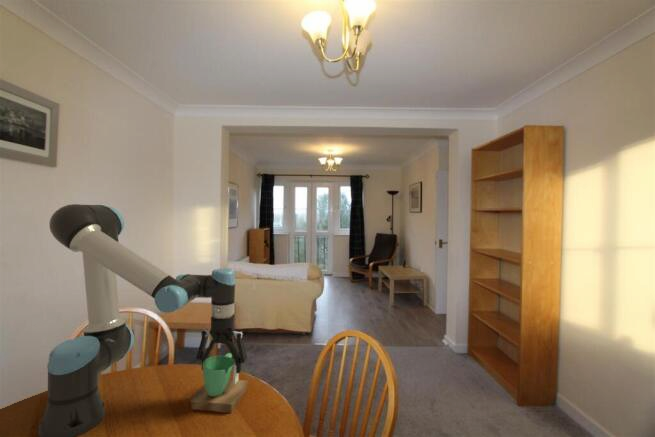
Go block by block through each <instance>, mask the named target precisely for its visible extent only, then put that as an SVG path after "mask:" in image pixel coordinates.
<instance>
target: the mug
mask: <svg viewBox="0 0 655 437" xmlns="http://www.w3.org/2000/svg"><path fill="white" fill-rule="evenodd" d="M234 364H235V360H234V358H233V356H232V354H231V352H228V353H226V354H225V355H214V356H209V357H208V358H207V359H206V360H205V361H204V362H203V370H202V373H203V382H204V385H205V387H206V390H207V393H208V395H209V396H213V397H215V396H219V395H221V394H222V393H223V391H224V389H225V387H226V385H227V383H228V380H229V379H231V378H230V377H231V375H232V374H233V373H232V372H233V367H234Z"/></svg>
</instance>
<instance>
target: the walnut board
mask: <svg viewBox="0 0 655 437" xmlns="http://www.w3.org/2000/svg"><path fill="white" fill-rule="evenodd" d="M248 383H249V381H248V380H241V379H238V381H237V383H236V384H233V379H232V378H229V380H228V383H227V385H226V387H225V389H224V391H223V393H222V394H221V395H219V396H215V397H213V396H209V395H208V393H207V390H206V387H205V384H204V385H203V386H202V387H201V388H200V389H199V390H198V391H197V392H196V393H195V394H194V395H193V397H192V398H191V399H189V400H190V401H189V402H190V405H191V410H199V411H207V412H217V413H218V412H219V413H227V414H232V413H233V411H234V410H235V408H236V407H237V405H238V404H239V402H240V401H241V399H242V398H243V396H244V394H245V393H246V392H247V389H248Z"/></svg>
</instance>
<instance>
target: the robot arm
mask: <svg viewBox="0 0 655 437" xmlns="http://www.w3.org/2000/svg"><path fill="white" fill-rule="evenodd" d="M48 223H49V226H48V227H49V230H50V232H51V234H52V236H53V238H54V239H55V240H57V242H59V244H61V245H62V246H63V247H65V248H67V249H69V250H70V251H72V252H74V253H82V263H83V264H82V265H83V276H84V286H85V287H84V288H85V297H86V308H87V309H86V310H87V318H88V319H87V321H88V323H87V325H86V326H85V327H84V328H83V331H82V332H83V336H82V335H81V336H78V337H74V338H73V339H68V340H65V341H63V342H60V344H58V345H56V346H55V347H54V348H53V349H52V350H51V351H50V353H49V355H48V362H47V364H46V365H47V403H46V404H47V405H46V407H45V409H44V412H43V414H42V418H41V419H40V421H39V424H38V437H77V436H79V435H81V434H84V433H85V432H88V431H90V430H91V429H93V428H94V427H95V426H97V425H98V424H100V423H101V421H102V420H103V419H104V417H105V415H106V405H105V403H104V401H103V398H102V394H101V393H100V390H99V384H100V383H99V381H100V377H99V376H100V374H101V373H103V372H105V370H107V369H109V368H110V367H111V366H112V365H114V364H115V363H118V362H119V361H120V360H122V359H124V357H126V355H127V354H128V353H129V352H130V350H131V349H132V348H133V345H134V343H135V342H134V341H135V336H134V331H133V330H132V329H131V328H130V327H129V325H127V323H126V319H124V318H122V317H121V315H120V308H119V306H120V305H119V295H118V293H119V292H118V283H117V276H119V277H120V278H121V279H123V280H124V281H126V282H128V283H130V284H131V285H132V286H135V287H136V288H137V289H139V290H140V291H142V292H144V293H145V294H146V295H148V296H150V297H152V299H154V304H155V307H156V308H157V309H158V310H159V311H160V312H162V313H166V314H169V313H174V312H175V311H176V312H177V311H178V310H180V309H182V308H183V307H184V306H186V305H187V304H188V303H190V302H192V301H193V300H195V299H197V298H203V299H204V298H205V299H207V298H208V299H209V298H210V299H211V302H210V304H211V305H210V307H211V308H210V310H211V311H210V315H211V317H210V329H208V328H205V329H203V330H202V331H201V333H200V334H201V340H200V344H199V347H198V351H197V353H196V358H195V359H196V360H200V361H201V370H202V371H203V362H204V361H205V360H206V359H207V358H210V355H211V353H212V351H213V349H214V348H215V347H216V345H217V344H224V345H226V348H228V351H229V353H231V354H232V356H233V361H234V366H233V369H232V372H233V373H232V374H233V377H232V378H233V384H236V383H237V381H238V380H239V376H240V375H239V374H240V373H241V372H242V364H245V362H246V361H247V360H248V355H247V351H246V347H245V342H244V331H243V330H240V331H236V330H235V315H234V314H235V302H236V301H235V296H236V295H235V294H236V273H235V271H234V269H231V268H217V269H213V270H212V271H211V274H190V273H187V274H179V275H177V276H176V277H175V278H174V277H173V276H171V275H170V274H169V273H167V272H165V271H164V270H162V269H161V268H159V267H157V266H156V265H154V264H152V263H151V262H149V261H148V260H146V259H145V258H143V257H142V256H140V255H139V254H137V253H136V252H134V251H132V250H131V249H129V248H128V247H126V246H125V245H123V244H122V243H120V242H119V236H120V235H121V233H122V232H123V230H124V228H125V219H124V218H123V215H122V214H121V213H120V212H119V210H117V209H115V208H114V207H111V206H108V205H103V204H79V203H77V204H75V203H73V204H67V205H64V206H62V207H60V208H58V209H57V210H55V211H54V213H53V214H52V215H51V217H50V220H49V222H48ZM209 336H211V338H212V339H211V341H210V343H209V346H208V347H207V349H206V346H207V343H208V340H209ZM233 337H234V338H235V339H236V344H235V340H234V338H233ZM205 349H206V351H205Z"/></svg>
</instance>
